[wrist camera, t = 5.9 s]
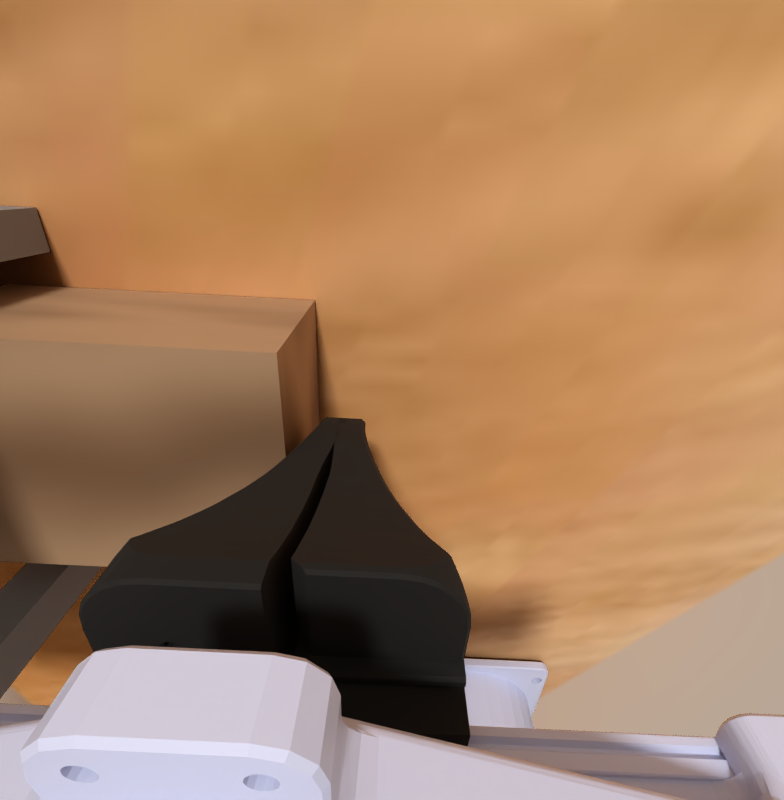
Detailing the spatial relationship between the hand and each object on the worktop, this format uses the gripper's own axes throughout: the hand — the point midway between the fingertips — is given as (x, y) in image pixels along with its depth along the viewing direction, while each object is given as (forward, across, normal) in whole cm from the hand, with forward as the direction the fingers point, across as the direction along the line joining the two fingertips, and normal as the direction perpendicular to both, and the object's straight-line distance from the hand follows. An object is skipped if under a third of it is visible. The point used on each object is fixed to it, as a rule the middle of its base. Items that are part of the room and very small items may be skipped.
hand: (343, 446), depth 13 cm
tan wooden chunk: (+2, +6, 0) cm, 6 cm away
